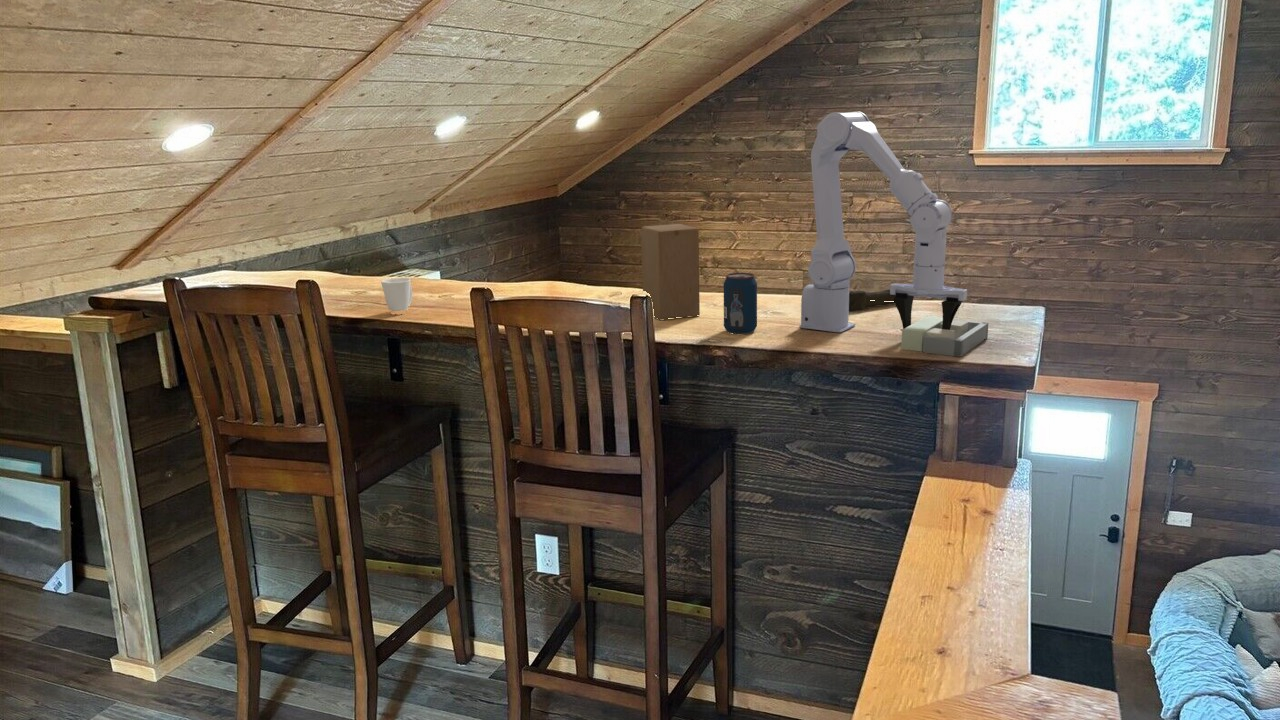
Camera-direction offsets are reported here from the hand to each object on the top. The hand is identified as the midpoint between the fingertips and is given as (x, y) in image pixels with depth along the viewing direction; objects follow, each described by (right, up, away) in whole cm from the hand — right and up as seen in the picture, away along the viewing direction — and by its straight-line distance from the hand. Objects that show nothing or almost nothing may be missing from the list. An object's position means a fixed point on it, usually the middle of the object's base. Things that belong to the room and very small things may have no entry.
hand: (925, 333), depth 188 cm
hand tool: (-2, +6, +32) cm, 33 cm away
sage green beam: (0, -2, 0) cm, 2 cm away
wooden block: (-49, +5, +31) cm, 58 cm away
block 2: (+6, -1, +1) cm, 6 cm away
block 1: (+1, -3, -5) cm, 6 cm away
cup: (-113, +6, +42) cm, 121 cm away
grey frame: (+5, -2, -3) cm, 6 cm away
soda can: (-35, +1, +13) cm, 37 cm away
